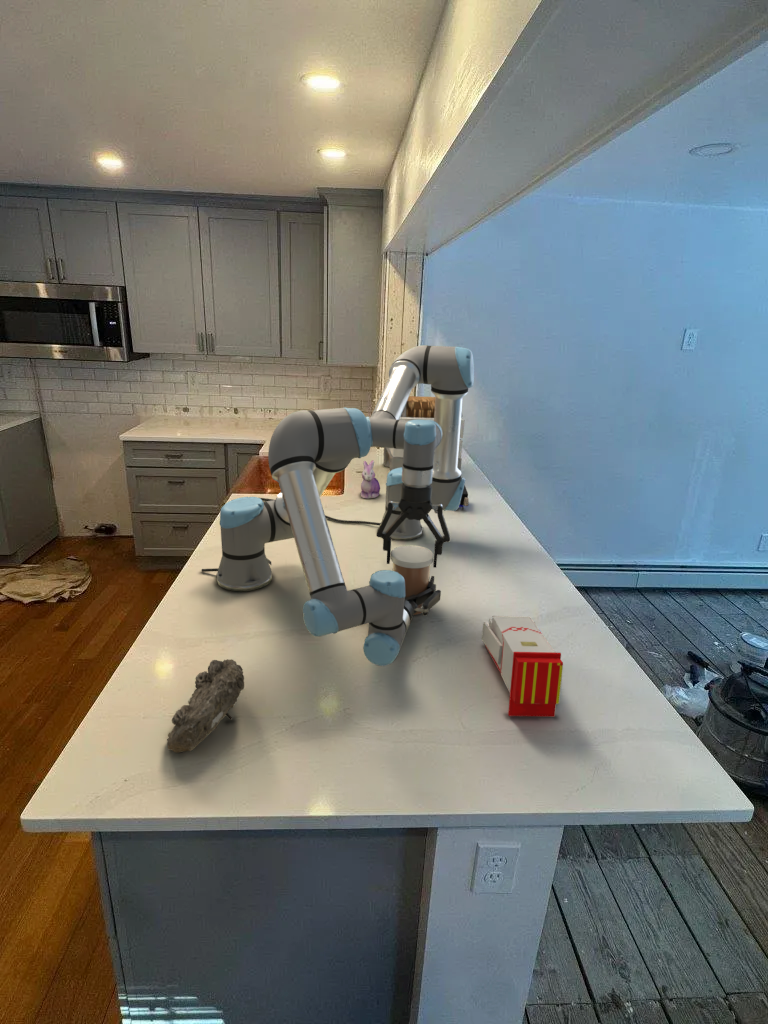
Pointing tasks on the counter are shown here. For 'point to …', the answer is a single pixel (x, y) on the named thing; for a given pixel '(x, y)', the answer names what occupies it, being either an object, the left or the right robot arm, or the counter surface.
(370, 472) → the figurine
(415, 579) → the jar
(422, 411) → the white wooden crate
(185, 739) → the fossil
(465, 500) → the figurine character
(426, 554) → the lid
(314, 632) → the left robot arm
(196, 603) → the counter surface
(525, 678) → the toy
